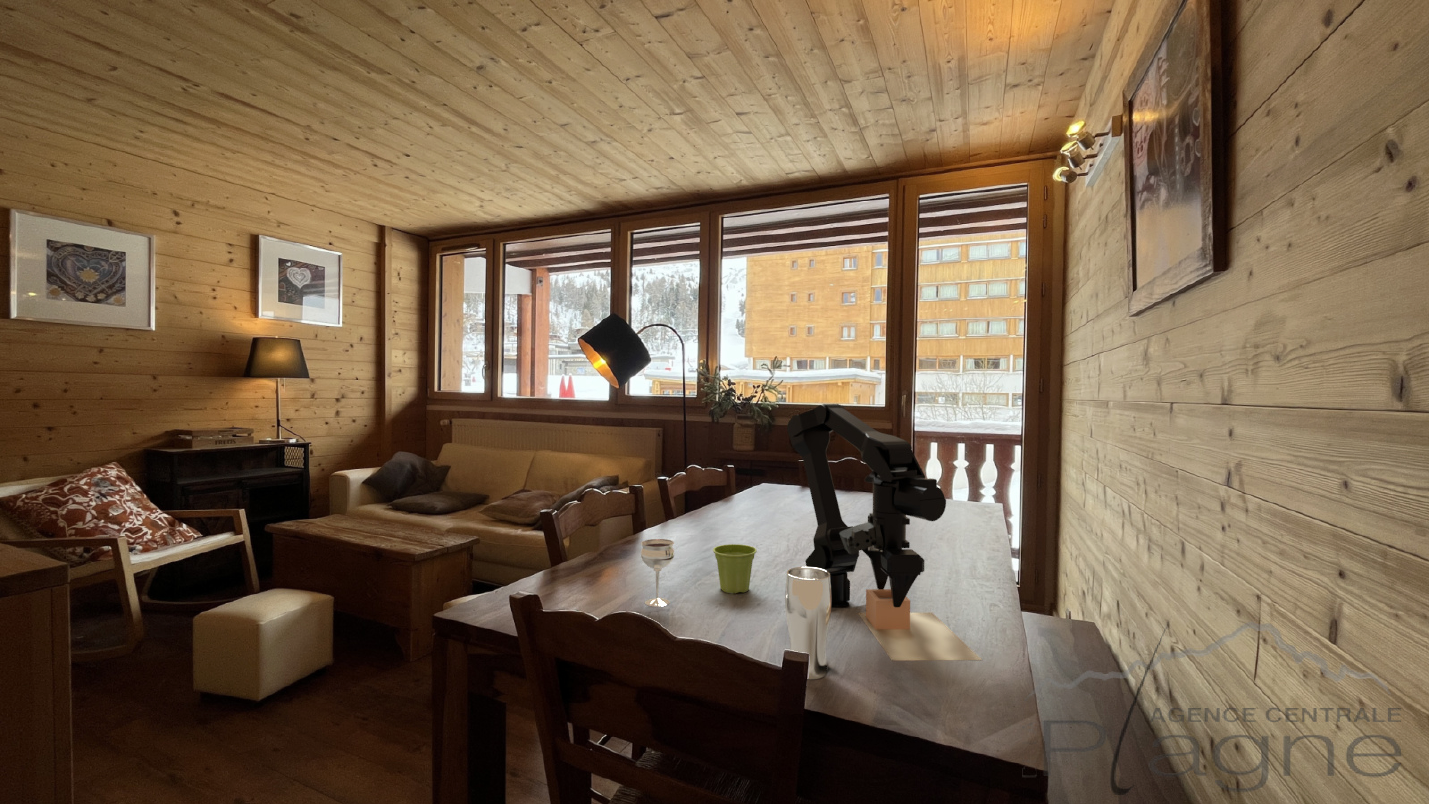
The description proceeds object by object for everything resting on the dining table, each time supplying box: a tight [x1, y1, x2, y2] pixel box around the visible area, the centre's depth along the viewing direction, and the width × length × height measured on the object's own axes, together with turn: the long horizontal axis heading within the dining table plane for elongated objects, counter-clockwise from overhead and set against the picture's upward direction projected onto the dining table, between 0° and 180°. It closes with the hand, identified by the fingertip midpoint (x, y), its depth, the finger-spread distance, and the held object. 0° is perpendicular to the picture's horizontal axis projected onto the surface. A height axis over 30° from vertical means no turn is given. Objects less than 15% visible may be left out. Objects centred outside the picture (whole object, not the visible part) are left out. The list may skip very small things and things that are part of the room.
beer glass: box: [784, 566, 832, 680], centre depth 92 cm, size 7×7×15 cm
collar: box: [865, 588, 911, 629], centre depth 108 cm, size 6×6×5 cm
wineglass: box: [640, 538, 675, 608], centre depth 122 cm, size 7×7×12 cm
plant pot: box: [712, 543, 757, 594], centre depth 130 cm, size 9×9×9 cm
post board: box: [858, 598, 983, 662], centre depth 103 cm, size 14×20×6 cm
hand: (888, 597), depth 108 cm, fingers open, 9 cm apart
